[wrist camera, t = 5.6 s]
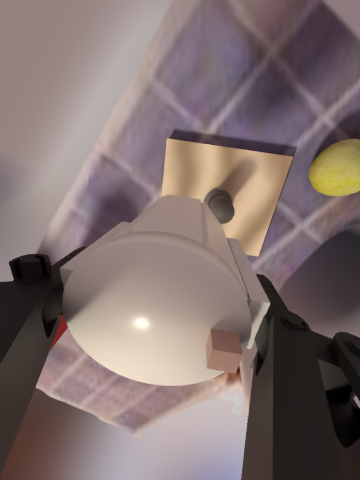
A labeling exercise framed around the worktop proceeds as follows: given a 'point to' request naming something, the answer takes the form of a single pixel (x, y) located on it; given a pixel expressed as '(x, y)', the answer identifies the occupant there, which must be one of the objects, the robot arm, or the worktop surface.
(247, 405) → the drinking glass
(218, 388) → the worktop surface
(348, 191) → the fruit
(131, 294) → the white domed knob
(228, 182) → the board
